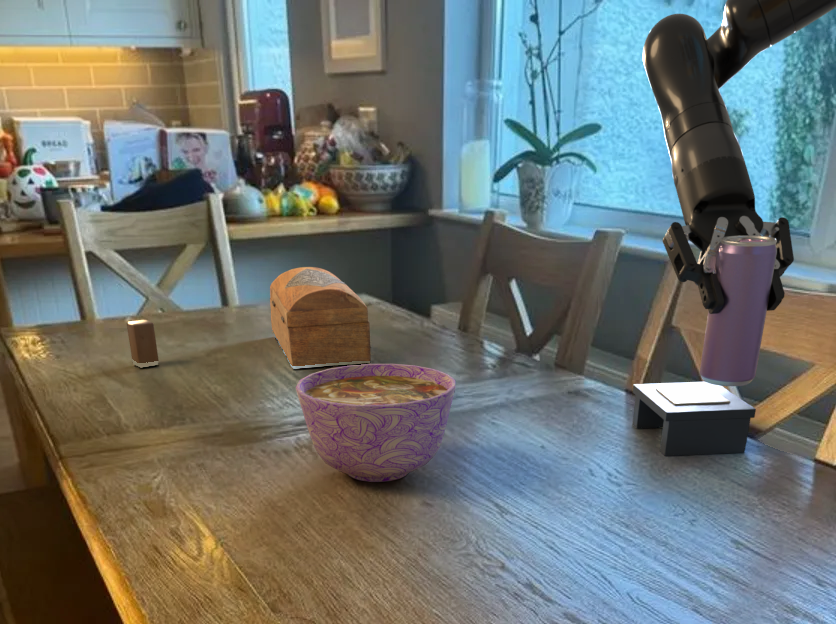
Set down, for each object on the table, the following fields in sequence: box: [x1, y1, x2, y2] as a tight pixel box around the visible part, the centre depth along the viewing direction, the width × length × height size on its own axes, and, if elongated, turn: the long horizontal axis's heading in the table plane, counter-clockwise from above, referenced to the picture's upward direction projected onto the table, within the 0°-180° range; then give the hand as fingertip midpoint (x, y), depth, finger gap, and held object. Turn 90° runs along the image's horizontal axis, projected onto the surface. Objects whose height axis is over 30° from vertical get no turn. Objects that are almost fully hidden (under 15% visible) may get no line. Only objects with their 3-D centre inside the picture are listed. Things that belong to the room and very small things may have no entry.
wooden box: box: [269, 266, 372, 366], centre depth 176 cm, size 30×16×14 cm, turn 12°
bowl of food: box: [295, 363, 457, 483], centre depth 115 cm, size 20×20×12 cm
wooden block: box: [126, 319, 160, 363], centre depth 168 cm, size 4×4×8 cm
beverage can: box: [699, 235, 777, 387], centre depth 99 cm, size 6×6×15 cm
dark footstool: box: [631, 381, 757, 457], centre depth 126 cm, size 12×14×6 cm
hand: (746, 307), depth 97 cm, fingers closed on beverage can, 6 cm apart
